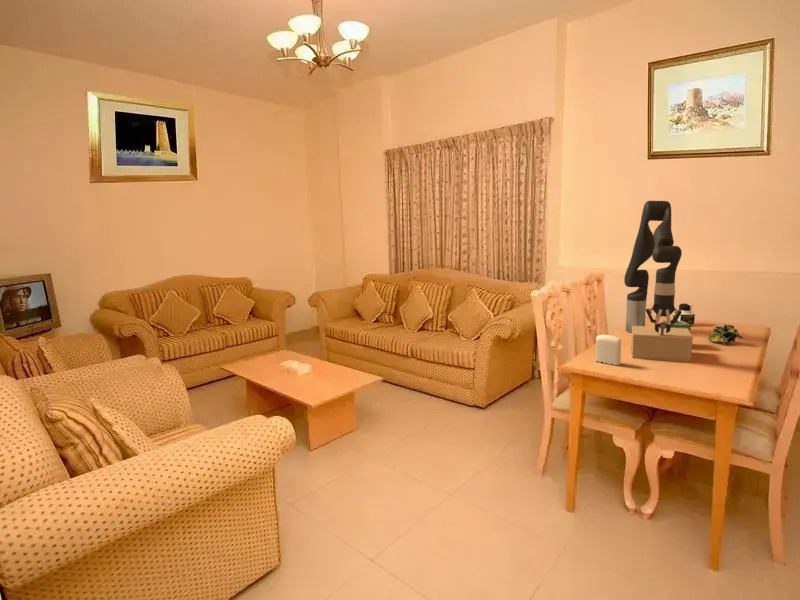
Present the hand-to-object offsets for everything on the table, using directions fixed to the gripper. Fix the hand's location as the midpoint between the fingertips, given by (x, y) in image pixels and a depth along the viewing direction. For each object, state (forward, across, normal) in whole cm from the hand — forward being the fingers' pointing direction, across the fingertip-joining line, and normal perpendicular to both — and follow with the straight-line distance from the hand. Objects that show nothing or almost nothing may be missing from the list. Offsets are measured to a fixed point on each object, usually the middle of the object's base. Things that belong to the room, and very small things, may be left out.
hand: (662, 332), depth 196 cm
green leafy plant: (+12, -29, -34) cm, 46 cm away
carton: (+12, 0, -6) cm, 14 cm away
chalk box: (+12, -8, -24) cm, 28 cm away
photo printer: (+12, +21, +12) cm, 27 cm away
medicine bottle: (+12, -17, -68) cm, 72 cm away
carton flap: (+2, 0, -6) cm, 7 cm away
